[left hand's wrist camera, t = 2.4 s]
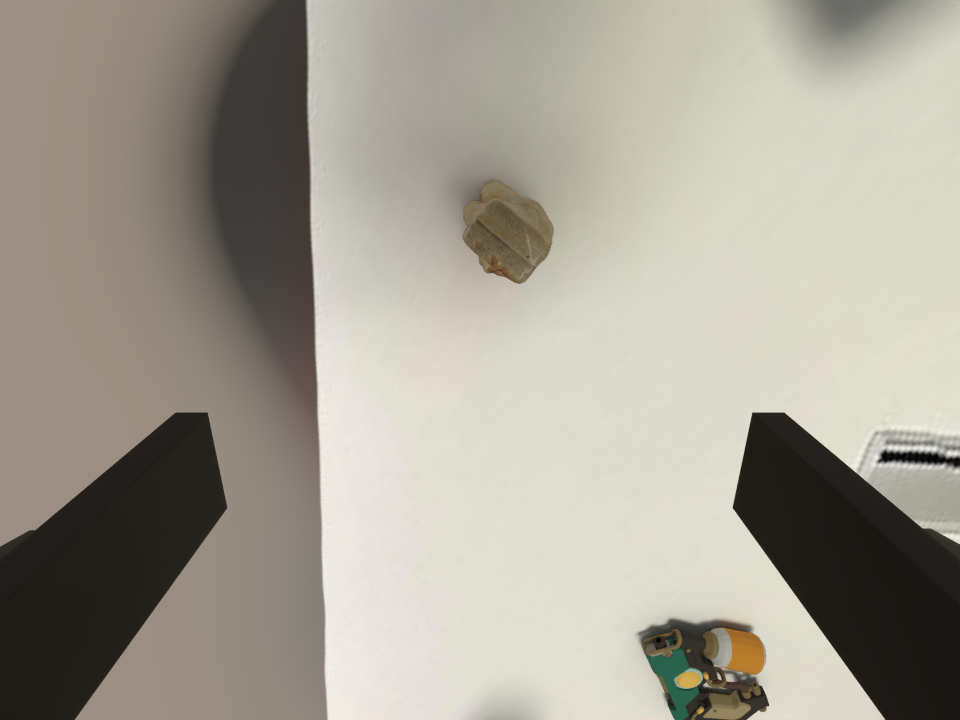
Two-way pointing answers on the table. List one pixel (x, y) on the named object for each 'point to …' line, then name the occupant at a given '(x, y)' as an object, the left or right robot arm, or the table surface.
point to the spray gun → (708, 672)
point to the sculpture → (507, 232)
